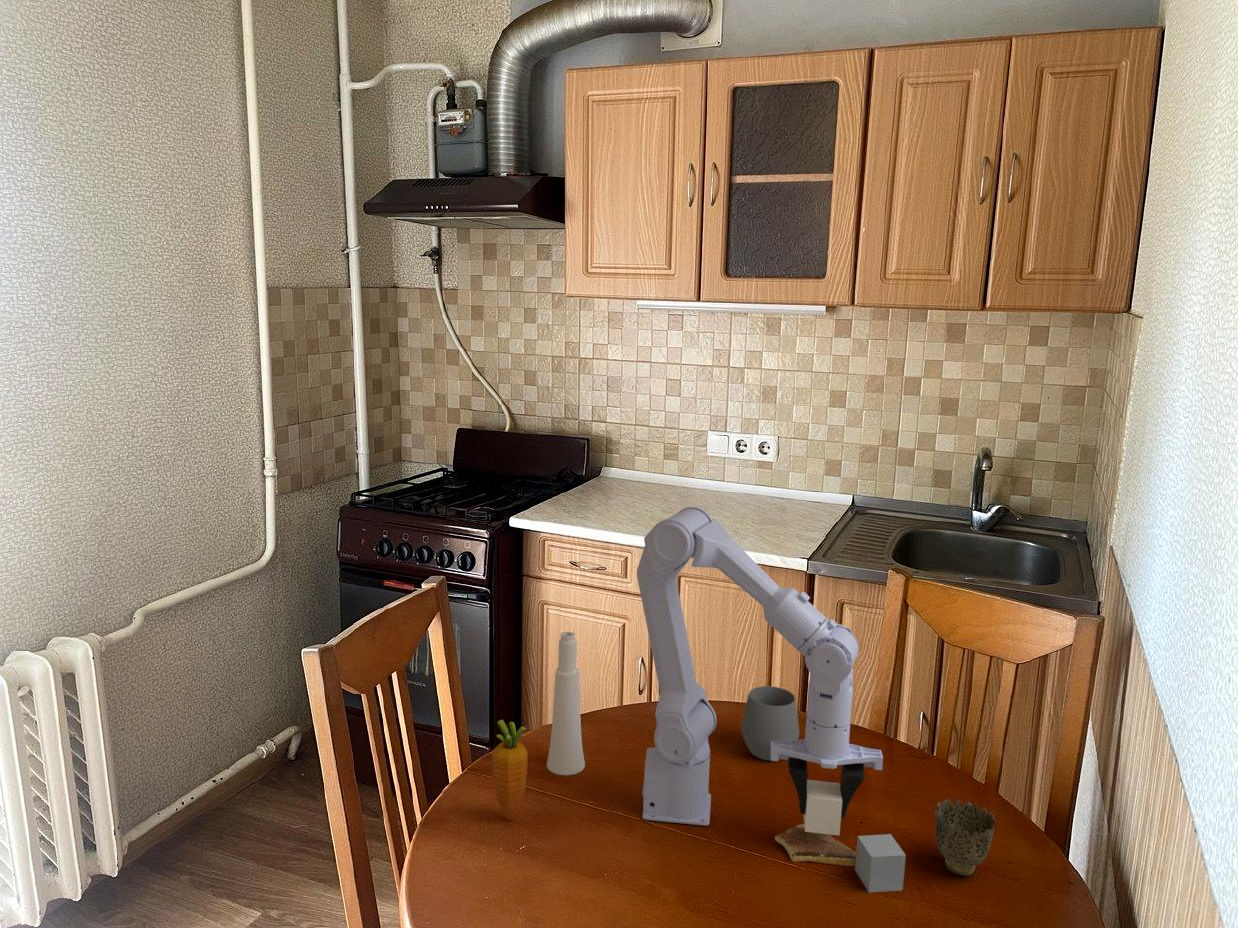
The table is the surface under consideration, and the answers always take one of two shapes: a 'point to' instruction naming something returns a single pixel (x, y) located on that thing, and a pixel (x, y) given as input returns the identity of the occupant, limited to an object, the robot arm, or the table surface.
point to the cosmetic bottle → (566, 713)
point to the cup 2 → (963, 835)
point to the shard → (815, 847)
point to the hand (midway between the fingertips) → (821, 811)
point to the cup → (769, 719)
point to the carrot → (509, 769)
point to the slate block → (880, 863)
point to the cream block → (823, 807)
